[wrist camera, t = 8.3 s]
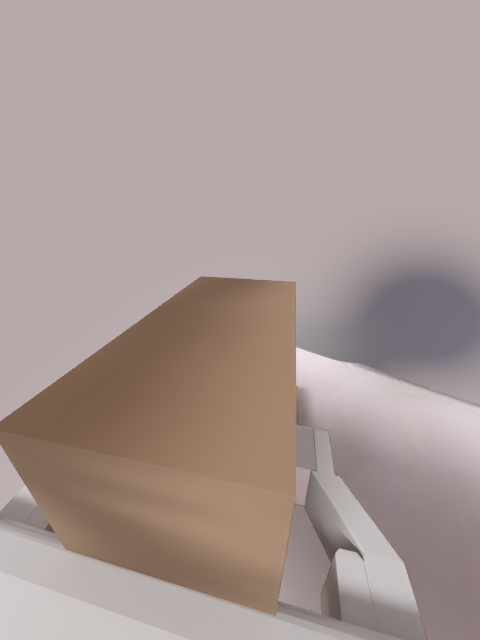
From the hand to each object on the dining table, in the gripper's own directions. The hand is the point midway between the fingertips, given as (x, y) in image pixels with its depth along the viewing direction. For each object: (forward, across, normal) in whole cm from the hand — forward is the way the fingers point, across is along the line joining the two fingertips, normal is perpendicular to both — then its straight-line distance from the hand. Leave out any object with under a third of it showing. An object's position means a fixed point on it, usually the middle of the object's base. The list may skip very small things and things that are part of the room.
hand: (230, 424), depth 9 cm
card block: (-1, 0, +7) cm, 7 cm away
